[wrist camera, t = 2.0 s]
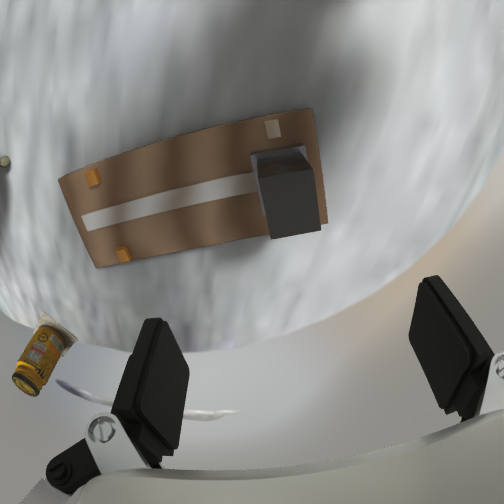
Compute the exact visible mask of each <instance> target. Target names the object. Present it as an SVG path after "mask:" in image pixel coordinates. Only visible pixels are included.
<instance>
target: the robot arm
mask: <svg viewBox="0 0 504 504" xmlns="http://www.w3.org/2000/svg"><path fill="white" fill-rule="evenodd" d="M409 341H410V343H411V345H412V347H413V349H414V351H415V353H416V356H417V358H418V360H419V362H420V364H421V366H422V369H423V371H424V373H425V375H426V377H427V380H428V382H429V384H430V386H431V389H432V391H433V393H434V396H435V398H436V400H437V403H438V405H439V407H440V408H441V409H444V411H445V413H446V415H447V414H450V413H452V412H455V411H457V412H458V414H459V419H458V422H457V424H456V425H454V426H451V427H449V428H446V429H443V430H440V431H438V432H435V433H432V434H429V435H426V436H423V437H420V438H417V439H414V440H411V441H408V442H405V443H401V444H398V445H394V446H391V447H387V448H383V449H380V450H376V451H372V452H367V453H363V454H359V455H354V456H350V457H345V458H340V459H334V460H329V461H323V462H317V463H310V464H303V465H296V466H286V467H276V468H265V469H249V470H175V469H165V468H164V466H163V465H162V464H161V461H162V456H173V453H174V449H177V448H178V445H179V439H180V432H181V425H182V419H183V412H184V406H185V399H186V393H187V387H188V381H189V367H188V365H187V363H186V361H185V359H184V357H183V355H182V352H181V350H180V348H179V346H178V344H177V342H176V340H175V338H174V336H173V333H172V331H171V329H170V327H169V325H168V323H167V322H166V321H163V320H162V319H161V318H150V319H145V321H144V323H143V326H142V329H141V331H140V334H139V337H138V340H137V342H136V345H135V348H134V351H133V354H131V355H130V357H129V359H128V361H127V365H126V367H125V370H124V373H123V376H122V379H121V382H120V385H119V388H118V391H117V394H116V397H115V400H114V403H113V406H112V410H111V413H106V412H105V413H100V414H97V415H95V416H93V417H92V418H91V419H90V420H89V421H88V423H87V424H86V427H85V431H84V435H85V438H84V439H82V440H81V441H79V442H78V443H76V444H75V445H73V446H72V447H70V448H68V449H67V450H65V451H64V452H62V453H61V454H59V455H57V456H56V457H54V458H53V459H52V460H51V461H50V462H49V464H48V465H47V468H46V477H47V478H46V479H45V480H44V479H43V478H41V480H40V481H39V482H38V483H37V484H36V485H35V486H34V487H33V489H32V490H31V491H30V492H29V493H28V494H27V495H26V497H25V498H24V499H23V500H22V501H21V502H20V503H19V504H504V351H503V352H499V353H497V354H496V355H494V353H493V351H492V350H491V348H490V347H489V345H488V343H487V342H486V340H485V339H484V337H483V336H482V334H481V333H480V331H479V330H478V329H477V327H476V326H475V324H474V322H473V321H472V320H471V318H470V317H469V315H468V314H467V313H466V311H465V310H464V308H463V307H462V306H461V304H460V303H459V301H458V300H457V299H456V297H455V296H454V295H453V293H452V292H451V291H450V289H449V288H448V287H447V286H446V284H445V283H444V282H443V280H442V279H441V278H440V277H439V276H438V275H435V276H431V277H426V278H424V279H423V281H422V282H421V283H420V284H419V286H418V292H417V297H416V303H415V308H414V313H413V317H412V322H411V326H410V331H409Z"/></svg>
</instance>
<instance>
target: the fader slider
mask: <svg viewBox="0 0 504 504" xmlns="http://www.w3.org/2000/svg"><path fill="white" fill-rule="evenodd" d="M250 158H251V162H252V167H253V171H254V176H255V180H256V185H257V190H258V194H259V199H260V203H261V208H262V213H263V215H266V219H267V223H268V228H269V233H270V238H271V239H277V238H282V237H288V236H293V235H298V234H304V233H309V232H315V231H320V230H321V224H320V215H319V207H318V200H317V192H316V185H315V178H314V171H313V168H312V167H311V165H310V164H309V162H308V160H307V154H306V148H305V145H304V144H303V143H301V144H295V145H289V146H283V147H278V148H272V149H267V150H262V151H256V152H251V153H250Z"/></svg>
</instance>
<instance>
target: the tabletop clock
mask: <svg viewBox="0 0 504 504" xmlns="http://www.w3.org/2000/svg"><path fill="white" fill-rule="evenodd" d="M9 163H10V159H9V157H8V156H2V157H1V158H0V167H1V168H6V167H7V166H8V165H9Z"/></svg>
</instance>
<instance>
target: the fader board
mask: <svg viewBox="0 0 504 504" xmlns="http://www.w3.org/2000/svg"><path fill="white" fill-rule="evenodd" d="M301 143H303V144H304V145H305V148H306V154H307V160H308V162H309V164H310V165H311V167H312V168H313V171H314V178H315V185H316V192H317V200H318V207H319V215H320V224H327V223H328V216H327V207H326V199H325V191H324V183H323V175H322V168H321V161H320V154H319V147H318V141H317V135H316V128H315V122H314V117H313V111H312V109H310V108H309V109H302V110H295V111H289V112H283V113H277V114H271V115H266V116H260V117H255V118H250V119H245V120H240V121H236V122H231V123H227V124H222V125H218V126H214V127H210V128H206V129H202V130H198V131H194V132H190V133H187V134H183V135H179V136H176V137H172V138H169V139H165V140H162V141H159V142H155V143H152V144H149V145H146V146H143V147H139V148H136V149H133V150H130V151H127V152H124V153H122V154H119V155H116V156H113V157H110V158H107V159H105V160H102V161H99V162H97V163H94V164H91V165H89V166H86V167H84V168H81V169H79V170H76V171H74V172H71V173H69V174H67V175H64V176H63V177H61V178H59V179H58V182H59V184H60V187H61V190H62V192H63V195H64V198H65V200H66V203H67V205H68V208H69V210H70V212H71V215H72V217H73V220H74V222H75V224H76V227H77V229H78V231H79V233H80V236H81V238H82V240H83V242H84V244H85V247H86V249H87V251H88V253H89V255H90V257H91V259H92V261H93V263H94V265H95V267H96V268H98V267H103V266H108V265H113V264H118V263H123V262H128V261H132V260H137V259H142V258H147V257H152V256H157V255H162V254H167V253H172V252H178V251H183V250H188V249H193V248H198V247H203V246H208V245H214V244H219V243H224V242H229V241H235V240H240V239H245V238H250V237H256V236H261V235H266V234H270V233H269V228H268V223H267V219H266V215H263V213H262V208H261V203H260V199H259V194H258V190H257V185H256V180H255V176H254V171H253V167H252V162H251V158H250V153H251V152H256V151H262V150H267V149H272V148H278V147H283V146H289V145H295V144H301Z"/></svg>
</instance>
